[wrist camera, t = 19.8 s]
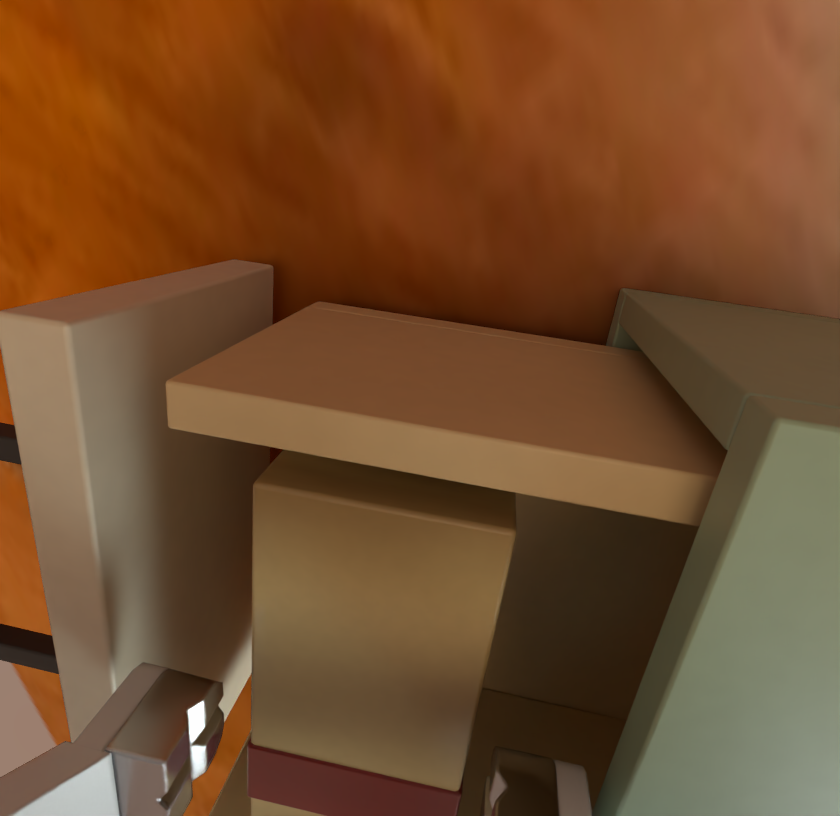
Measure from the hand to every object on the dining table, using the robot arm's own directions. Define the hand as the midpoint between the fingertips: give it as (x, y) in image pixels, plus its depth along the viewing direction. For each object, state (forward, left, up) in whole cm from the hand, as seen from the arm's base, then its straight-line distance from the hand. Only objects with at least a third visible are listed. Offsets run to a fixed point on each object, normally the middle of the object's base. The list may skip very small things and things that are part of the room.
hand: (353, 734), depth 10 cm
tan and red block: (0, 0, -4) cm, 4 cm away
